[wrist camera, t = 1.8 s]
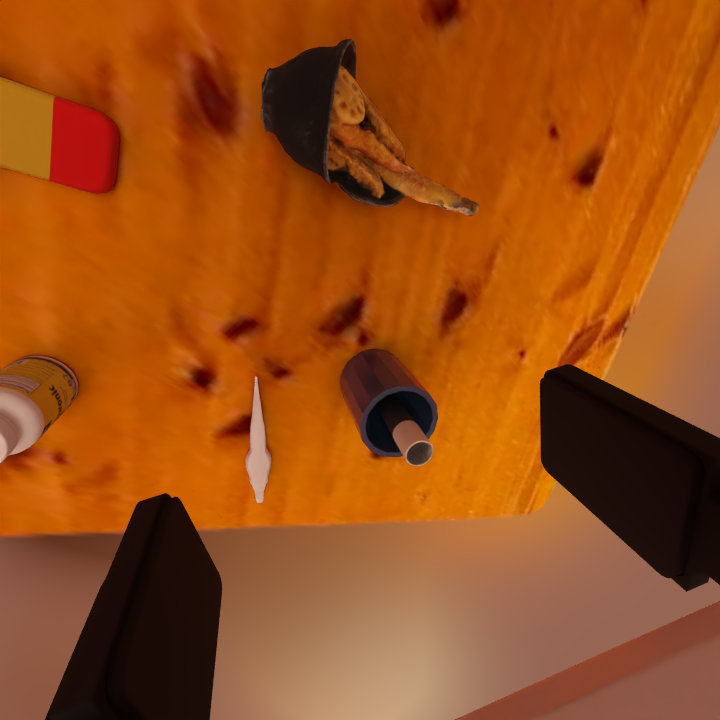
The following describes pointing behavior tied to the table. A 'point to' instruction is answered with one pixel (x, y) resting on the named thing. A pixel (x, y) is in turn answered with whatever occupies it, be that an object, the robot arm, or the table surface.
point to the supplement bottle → (32, 400)
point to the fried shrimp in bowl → (344, 131)
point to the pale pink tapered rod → (258, 450)
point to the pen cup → (374, 382)
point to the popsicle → (56, 139)
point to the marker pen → (405, 431)
